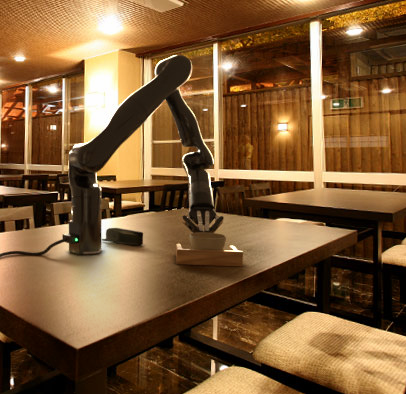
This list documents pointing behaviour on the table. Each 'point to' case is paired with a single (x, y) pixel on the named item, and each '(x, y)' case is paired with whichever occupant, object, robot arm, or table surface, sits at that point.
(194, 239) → the flower pot
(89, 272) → the table surface
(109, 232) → the black rounded block
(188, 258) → the low wooden tray
